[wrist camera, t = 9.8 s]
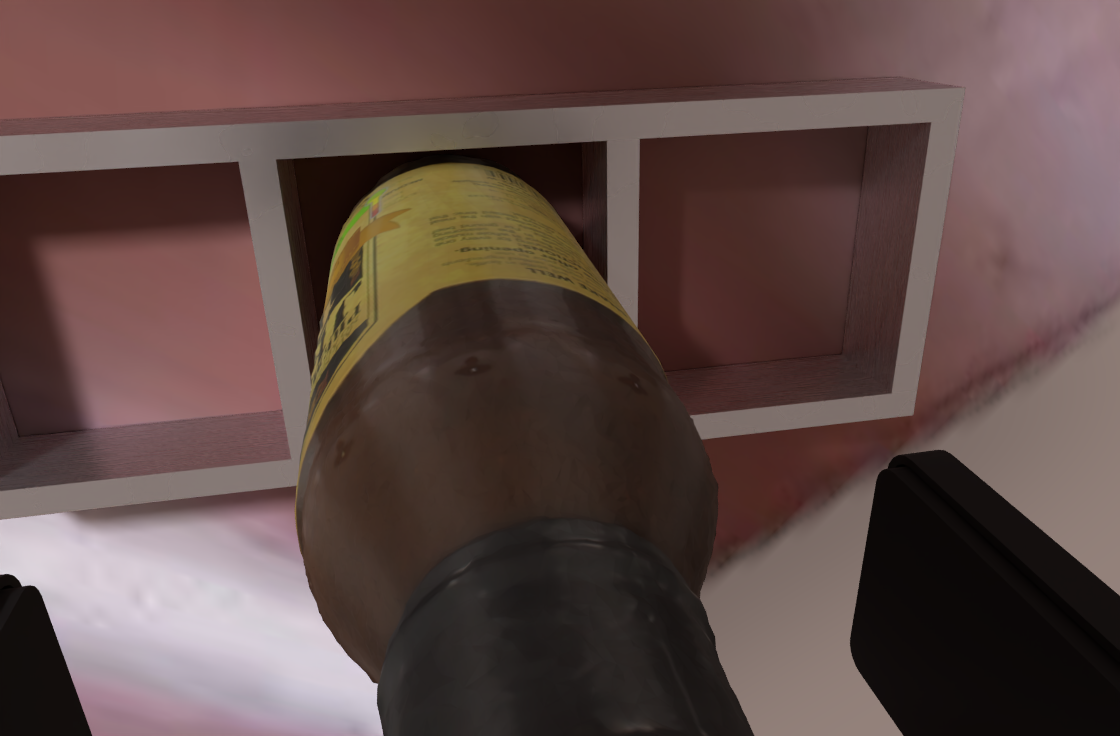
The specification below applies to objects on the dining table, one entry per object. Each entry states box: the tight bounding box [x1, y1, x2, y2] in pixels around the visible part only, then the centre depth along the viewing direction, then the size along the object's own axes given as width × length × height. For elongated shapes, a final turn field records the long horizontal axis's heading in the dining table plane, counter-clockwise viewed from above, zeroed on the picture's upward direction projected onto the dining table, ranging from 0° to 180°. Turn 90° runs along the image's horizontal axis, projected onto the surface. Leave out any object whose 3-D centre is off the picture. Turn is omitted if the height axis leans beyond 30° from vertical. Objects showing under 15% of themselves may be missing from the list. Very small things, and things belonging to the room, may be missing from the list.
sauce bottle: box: [295, 154, 754, 736], centre depth 15 cm, size 6×6×20 cm
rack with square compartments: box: [0, 77, 965, 520], centre depth 22 cm, size 9×26×3 cm, turn 91°
